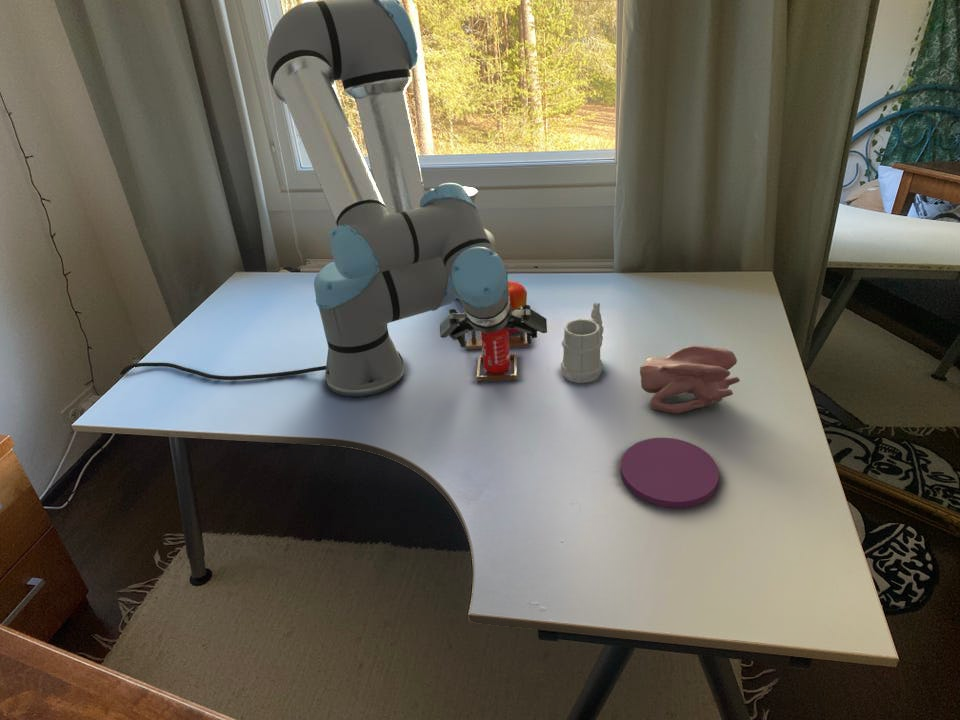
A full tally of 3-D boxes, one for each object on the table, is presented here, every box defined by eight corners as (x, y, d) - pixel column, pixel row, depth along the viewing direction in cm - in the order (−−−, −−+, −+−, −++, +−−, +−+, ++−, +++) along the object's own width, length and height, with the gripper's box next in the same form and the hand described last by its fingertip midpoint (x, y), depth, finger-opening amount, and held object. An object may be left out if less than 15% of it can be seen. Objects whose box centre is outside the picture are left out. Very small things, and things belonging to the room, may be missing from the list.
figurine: (652, 429, 108) (737, 418, 98) (628, 380, 106) (712, 363, 96) (676, 393, 117) (756, 379, 106) (654, 346, 114) (734, 328, 104)
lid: (609, 493, 91) (609, 487, 90) (632, 435, 101) (633, 429, 101) (710, 519, 85) (711, 512, 85) (724, 455, 96) (725, 449, 95)
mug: (553, 377, 117) (552, 321, 111) (582, 348, 125) (582, 294, 119) (591, 388, 113) (592, 331, 107) (618, 357, 121) (620, 302, 115)
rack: (531, 379, 118) (529, 340, 113) (462, 382, 119) (458, 343, 114) (529, 339, 130) (528, 302, 126) (467, 342, 131) (463, 306, 127)
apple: (507, 344, 129) (504, 292, 123) (480, 331, 135) (476, 281, 128) (536, 328, 134) (534, 278, 127) (509, 316, 139) (506, 267, 133)
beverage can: (502, 379, 118) (498, 324, 112) (479, 373, 121) (473, 318, 114) (515, 365, 122) (512, 311, 116) (492, 360, 124) (488, 306, 118)
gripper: (411, 331, 100) (433, 360, 121) (564, 323, 98) (560, 355, 119) (411, 286, 101) (433, 323, 122) (562, 278, 99) (558, 317, 120)
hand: (495, 338), depth 121 cm, fingers open, 12 cm apart
